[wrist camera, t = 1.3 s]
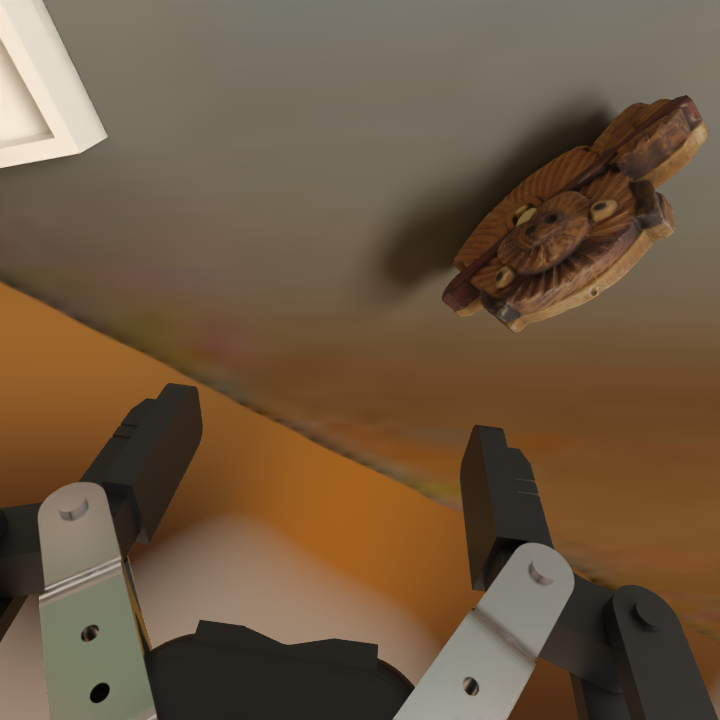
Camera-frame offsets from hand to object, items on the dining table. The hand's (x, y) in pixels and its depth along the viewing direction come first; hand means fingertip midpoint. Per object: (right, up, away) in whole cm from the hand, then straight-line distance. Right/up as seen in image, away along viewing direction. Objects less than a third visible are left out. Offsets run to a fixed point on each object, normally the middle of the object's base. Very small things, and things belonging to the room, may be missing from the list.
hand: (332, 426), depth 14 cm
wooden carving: (+13, +13, +18) cm, 25 cm away
